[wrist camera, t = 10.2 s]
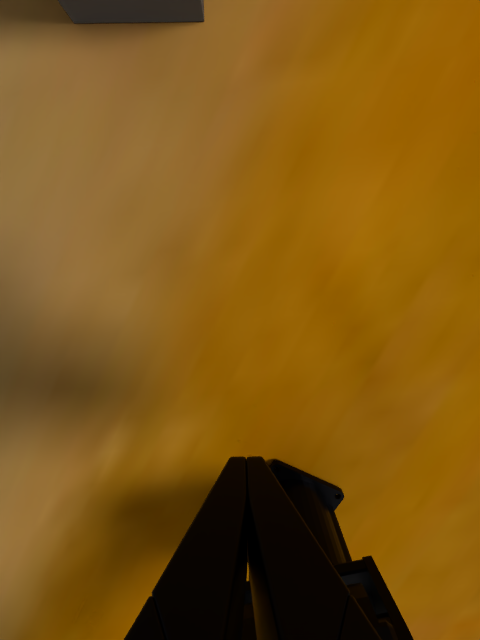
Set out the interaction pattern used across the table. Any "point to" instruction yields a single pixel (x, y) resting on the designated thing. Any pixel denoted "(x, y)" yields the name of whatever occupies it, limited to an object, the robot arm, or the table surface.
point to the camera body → (133, 10)
